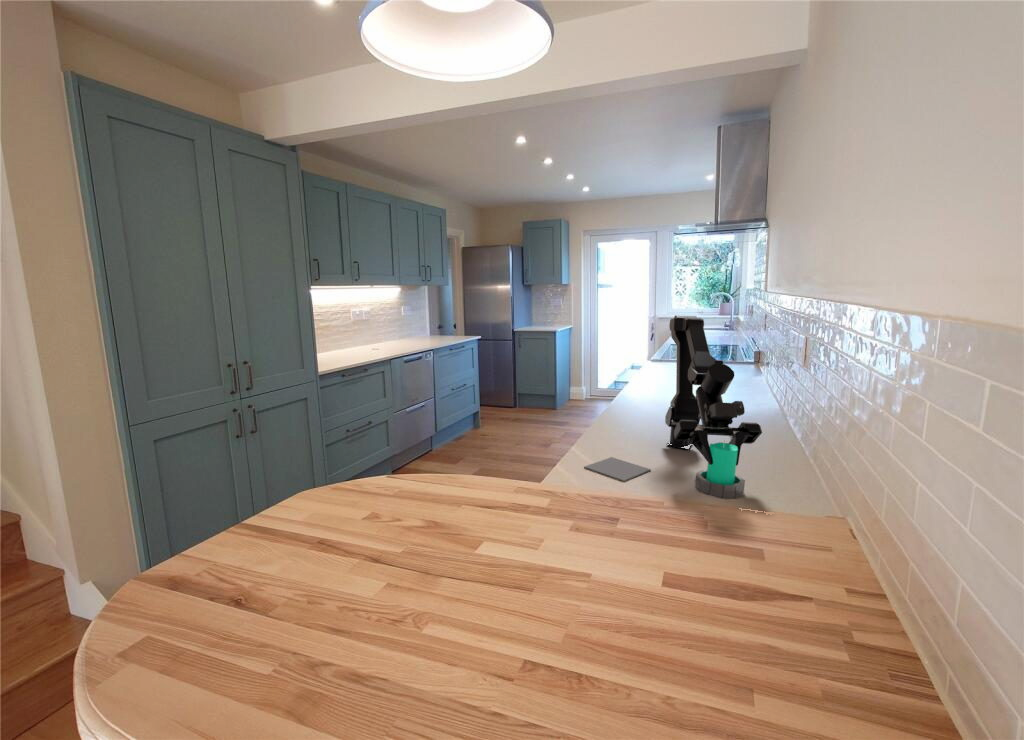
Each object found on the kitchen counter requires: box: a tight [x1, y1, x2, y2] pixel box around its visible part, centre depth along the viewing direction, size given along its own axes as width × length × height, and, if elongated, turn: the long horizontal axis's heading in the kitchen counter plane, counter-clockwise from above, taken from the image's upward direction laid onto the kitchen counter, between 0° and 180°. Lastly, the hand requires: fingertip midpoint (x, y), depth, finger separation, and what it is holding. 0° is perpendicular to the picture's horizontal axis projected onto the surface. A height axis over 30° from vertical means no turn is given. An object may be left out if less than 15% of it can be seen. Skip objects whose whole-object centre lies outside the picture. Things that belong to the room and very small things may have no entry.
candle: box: [706, 439, 738, 484], centre depth 111 cm, size 6×6×12 cm
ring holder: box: [694, 468, 746, 500], centre depth 112 cm, size 10×10×3 cm
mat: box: [583, 456, 652, 483], centre depth 123 cm, size 12×12×1 cm
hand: (724, 464), depth 109 cm, fingers closed on candle, 5 cm apart
